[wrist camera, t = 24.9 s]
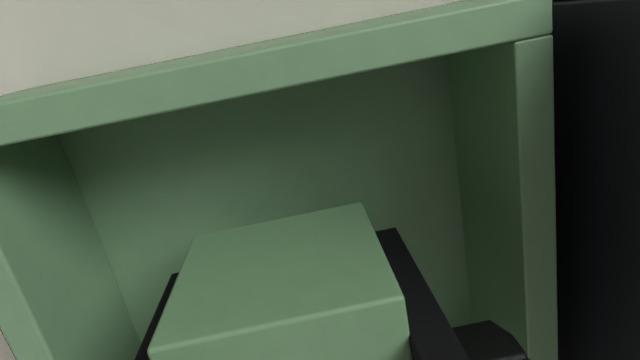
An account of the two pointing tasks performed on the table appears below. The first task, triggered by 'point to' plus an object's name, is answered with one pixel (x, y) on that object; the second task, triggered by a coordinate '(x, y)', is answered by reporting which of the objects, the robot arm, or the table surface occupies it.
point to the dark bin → (597, 177)
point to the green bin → (288, 170)
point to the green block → (286, 294)
